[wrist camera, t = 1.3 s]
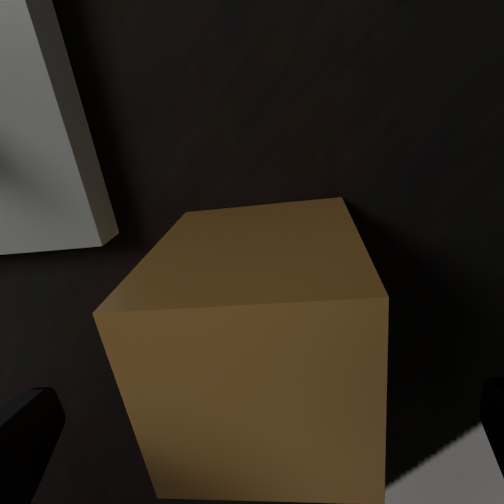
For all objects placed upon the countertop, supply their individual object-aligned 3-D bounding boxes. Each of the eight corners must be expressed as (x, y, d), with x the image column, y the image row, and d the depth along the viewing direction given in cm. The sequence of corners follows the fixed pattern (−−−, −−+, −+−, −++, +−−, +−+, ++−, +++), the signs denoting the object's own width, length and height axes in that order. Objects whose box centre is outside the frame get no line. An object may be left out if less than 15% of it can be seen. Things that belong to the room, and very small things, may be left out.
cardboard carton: (346, 331, 13) (384, 504, 7) (211, 337, 14) (157, 498, 8) (341, 197, 11) (388, 297, 6) (186, 212, 12) (92, 313, 6)
